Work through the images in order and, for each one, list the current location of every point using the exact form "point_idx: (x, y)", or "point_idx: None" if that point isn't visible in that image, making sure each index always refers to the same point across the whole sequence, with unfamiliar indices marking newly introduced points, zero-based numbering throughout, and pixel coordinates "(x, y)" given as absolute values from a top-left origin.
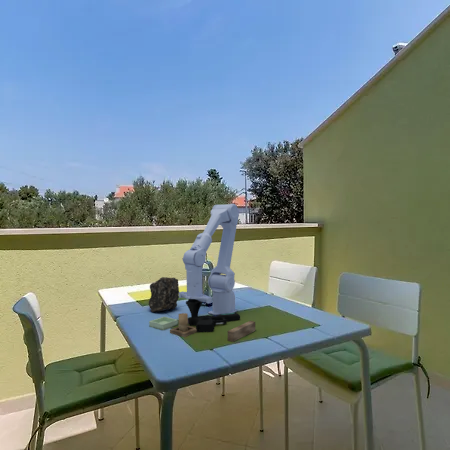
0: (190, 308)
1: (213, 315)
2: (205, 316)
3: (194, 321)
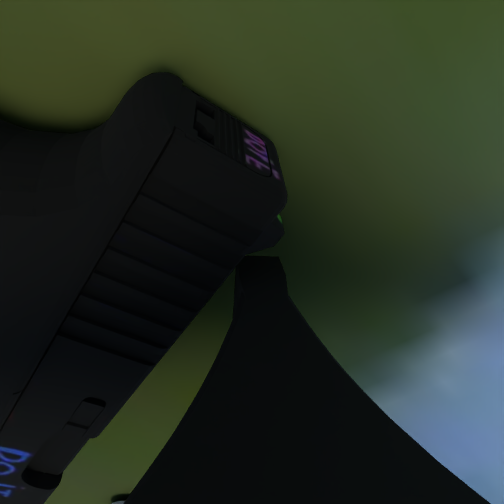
0: (310, 418)
1: (29, 461)
2: (69, 390)
3: (72, 149)
